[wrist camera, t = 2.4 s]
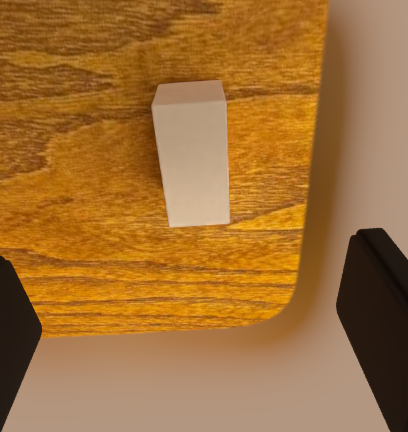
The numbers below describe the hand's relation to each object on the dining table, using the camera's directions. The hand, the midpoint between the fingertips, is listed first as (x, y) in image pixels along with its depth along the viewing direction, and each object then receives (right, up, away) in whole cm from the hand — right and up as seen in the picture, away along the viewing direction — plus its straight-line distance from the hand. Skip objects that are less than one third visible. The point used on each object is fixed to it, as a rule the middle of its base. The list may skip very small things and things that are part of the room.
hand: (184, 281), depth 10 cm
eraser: (0, +6, +8) cm, 10 cm away
